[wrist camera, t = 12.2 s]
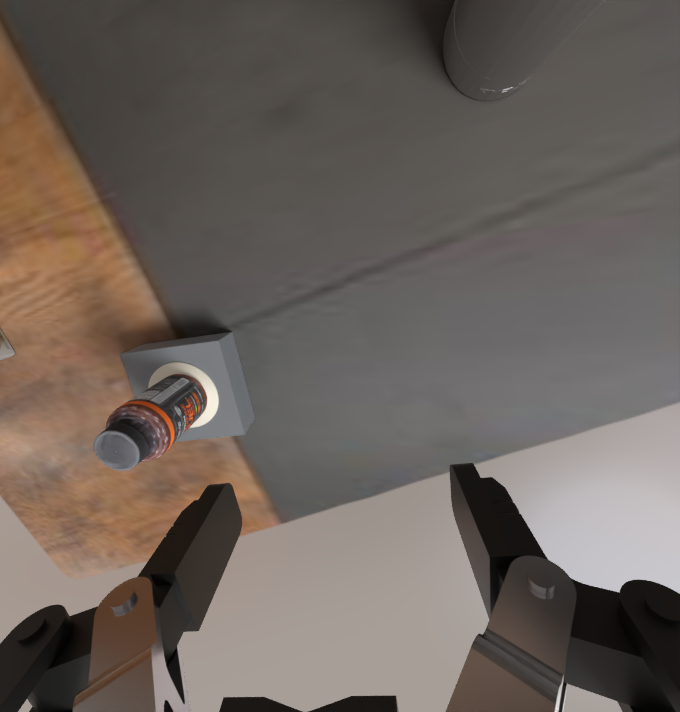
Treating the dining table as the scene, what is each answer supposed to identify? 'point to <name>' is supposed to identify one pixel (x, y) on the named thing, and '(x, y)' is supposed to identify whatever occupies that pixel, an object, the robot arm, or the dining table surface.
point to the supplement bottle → (150, 422)
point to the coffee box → (5, 347)
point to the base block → (198, 379)
